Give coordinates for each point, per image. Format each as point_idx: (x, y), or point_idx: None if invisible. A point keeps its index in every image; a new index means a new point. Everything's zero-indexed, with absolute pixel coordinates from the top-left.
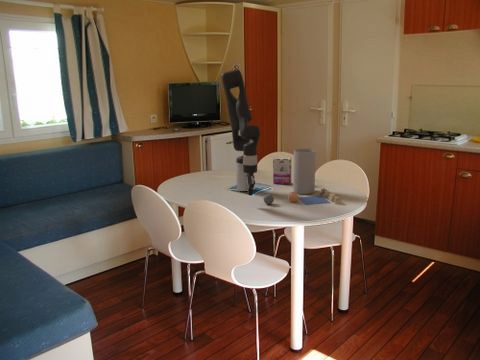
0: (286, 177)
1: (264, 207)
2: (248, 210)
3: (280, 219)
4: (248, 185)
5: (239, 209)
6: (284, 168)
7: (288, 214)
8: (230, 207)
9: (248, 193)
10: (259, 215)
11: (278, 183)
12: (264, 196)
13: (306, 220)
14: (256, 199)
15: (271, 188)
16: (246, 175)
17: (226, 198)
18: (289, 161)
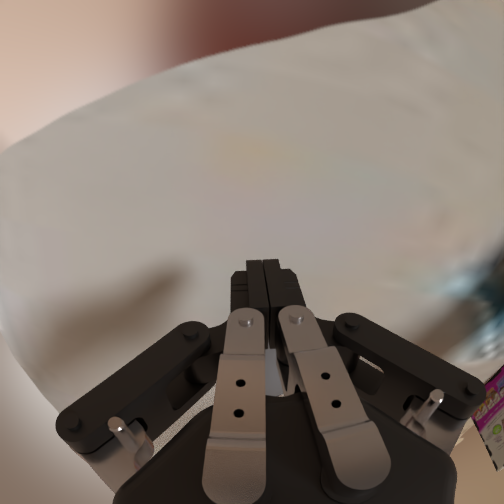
0: (483, 414)
1: (194, 306)
2: (135, 191)
3: (15, 319)
4: (241, 344)
5: (172, 121)
6: (501, 433)
7: (78, 366)
8: (249, 54)
9: (252, 267)
10: (42, 246)
11: (494, 378)
12: (270, 360)
13: (33, 382)
14: (387, 290)
15: (479, 359)
16: (352, 491)
17: (477, 105)
18: (497, 464)
